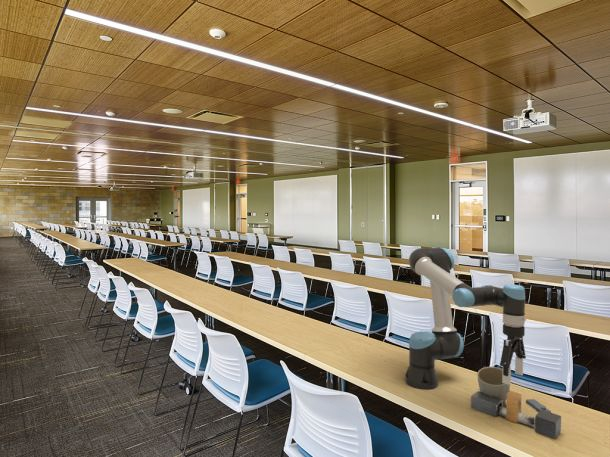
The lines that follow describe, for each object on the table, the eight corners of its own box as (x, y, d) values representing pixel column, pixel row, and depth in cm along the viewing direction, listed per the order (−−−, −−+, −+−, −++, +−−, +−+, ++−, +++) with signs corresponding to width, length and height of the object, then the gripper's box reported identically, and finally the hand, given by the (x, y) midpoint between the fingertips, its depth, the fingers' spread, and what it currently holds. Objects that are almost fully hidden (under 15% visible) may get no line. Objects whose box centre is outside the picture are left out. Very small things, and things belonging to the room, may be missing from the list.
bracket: (534, 403, 165) (534, 398, 164) (551, 415, 154) (551, 411, 154) (525, 403, 164) (525, 399, 164) (541, 416, 154) (541, 411, 154)
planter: (517, 404, 159) (516, 381, 156) (488, 410, 158) (487, 388, 156) (499, 385, 171) (498, 364, 168) (473, 391, 170) (471, 370, 168)
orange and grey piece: (480, 410, 157) (481, 385, 157) (484, 406, 160) (485, 383, 160) (532, 428, 143) (533, 402, 143) (535, 424, 146) (536, 398, 146)
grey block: (470, 408, 159) (471, 395, 159) (477, 402, 163) (478, 390, 163) (496, 417, 152) (496, 404, 151) (502, 411, 156) (502, 399, 156)
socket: (535, 431, 141) (535, 415, 141) (540, 425, 146) (541, 409, 146) (555, 439, 137) (555, 422, 137) (560, 432, 141) (561, 415, 141)
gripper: (512, 332, 138) (511, 391, 139) (534, 321, 155) (533, 373, 156) (490, 328, 144) (490, 384, 144) (514, 317, 161) (514, 368, 161)
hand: (512, 378), depth 150 cm, fingers open, 13 cm apart
